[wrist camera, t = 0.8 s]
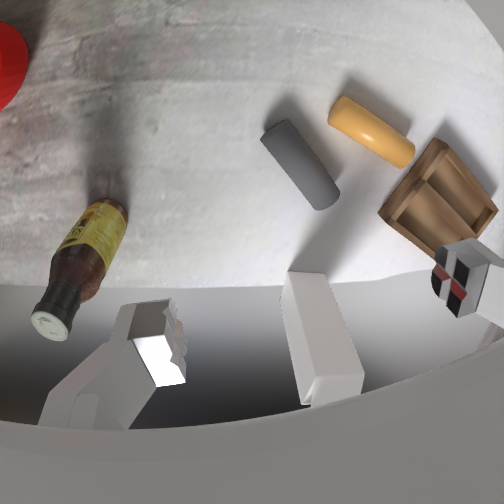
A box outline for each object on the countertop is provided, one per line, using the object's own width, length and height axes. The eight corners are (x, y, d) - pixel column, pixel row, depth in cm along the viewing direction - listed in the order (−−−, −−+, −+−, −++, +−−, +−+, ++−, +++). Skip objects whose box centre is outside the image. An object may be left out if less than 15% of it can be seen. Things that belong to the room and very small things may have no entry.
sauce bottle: (100, 187, 38) (28, 284, 21) (138, 213, 40) (90, 322, 24) (79, 223, 40) (15, 325, 24) (115, 247, 43) (68, 357, 26)
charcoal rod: (259, 135, 37) (261, 145, 33) (286, 116, 35) (291, 124, 32) (310, 200, 42) (316, 215, 38) (335, 183, 40) (343, 197, 37)
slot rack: (434, 137, 37) (446, 143, 35) (488, 202, 43) (498, 210, 41) (377, 213, 43) (386, 223, 41) (440, 262, 49) (449, 272, 47)
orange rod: (323, 123, 36) (336, 125, 32) (337, 95, 34) (352, 95, 31) (389, 165, 39) (406, 171, 36) (402, 140, 38) (419, 144, 34)
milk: (314, 302, 51) (352, 423, 33) (278, 300, 50) (305, 427, 32) (325, 272, 48) (374, 396, 30) (286, 269, 47) (322, 401, 29)
